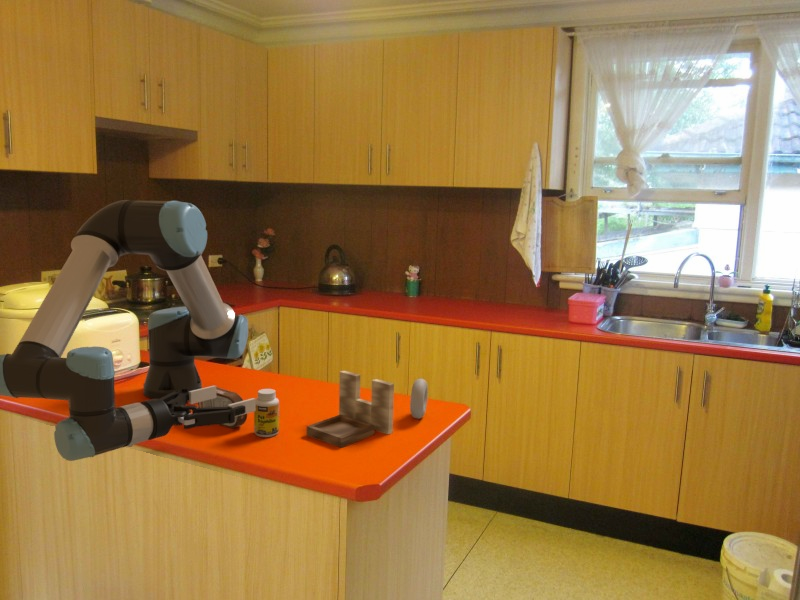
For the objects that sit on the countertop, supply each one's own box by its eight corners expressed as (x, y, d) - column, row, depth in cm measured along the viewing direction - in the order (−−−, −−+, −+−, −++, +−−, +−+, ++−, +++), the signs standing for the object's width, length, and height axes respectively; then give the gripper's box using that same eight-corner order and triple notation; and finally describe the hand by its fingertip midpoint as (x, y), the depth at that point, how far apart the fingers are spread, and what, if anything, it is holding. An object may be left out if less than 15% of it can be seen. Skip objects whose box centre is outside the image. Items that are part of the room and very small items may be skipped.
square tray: (306, 435, 151) (306, 426, 151) (339, 423, 159) (340, 414, 159) (341, 447, 144) (341, 438, 144) (374, 434, 153) (374, 425, 152)
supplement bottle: (253, 438, 148) (253, 395, 146) (254, 429, 153) (254, 387, 152) (279, 437, 149) (279, 394, 147) (279, 429, 154) (278, 387, 153)
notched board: (339, 418, 163) (339, 371, 161) (343, 417, 164) (343, 370, 162) (388, 434, 153) (389, 384, 151) (392, 432, 154) (393, 383, 152)
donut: (422, 424, 160) (423, 385, 158) (408, 423, 160) (409, 384, 159) (428, 411, 170) (429, 374, 168) (414, 410, 170) (416, 373, 169)
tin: (248, 429, 154) (248, 394, 153) (238, 432, 152) (237, 397, 150) (205, 415, 162) (205, 382, 161) (195, 418, 160) (194, 385, 158)
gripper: (111, 424, 134) (200, 402, 150) (181, 456, 119) (272, 427, 135) (110, 389, 133) (200, 370, 149) (180, 417, 118) (272, 392, 134)
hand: (234, 397), depth 142 cm, fingers open, 13 cm apart
